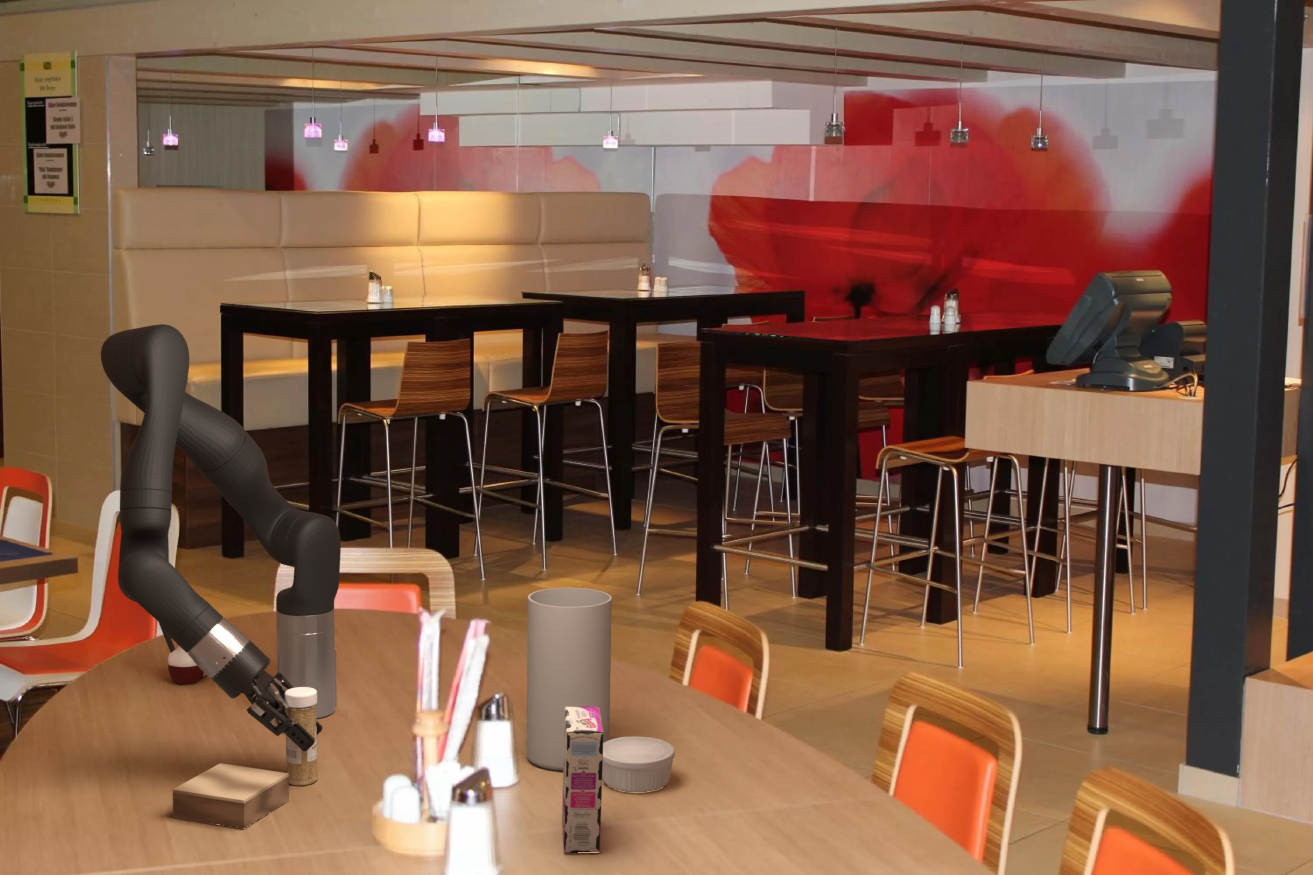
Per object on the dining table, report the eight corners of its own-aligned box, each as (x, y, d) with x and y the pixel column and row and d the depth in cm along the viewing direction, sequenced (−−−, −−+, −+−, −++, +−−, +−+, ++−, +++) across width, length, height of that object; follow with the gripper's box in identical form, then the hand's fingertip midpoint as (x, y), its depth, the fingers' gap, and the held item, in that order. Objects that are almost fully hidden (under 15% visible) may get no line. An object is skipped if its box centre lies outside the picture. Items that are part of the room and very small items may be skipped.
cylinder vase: (577, 778, 226) (580, 611, 223) (509, 761, 233) (511, 599, 229) (624, 754, 237) (627, 595, 233) (558, 739, 243) (560, 583, 240)
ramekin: (618, 802, 218) (618, 765, 217) (584, 776, 227) (585, 741, 227) (688, 790, 223) (689, 754, 222) (652, 765, 233) (653, 731, 232)
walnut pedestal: (220, 790, 219) (220, 763, 218) (289, 800, 215) (288, 773, 215) (173, 817, 208) (172, 789, 208) (244, 829, 205) (243, 800, 204)
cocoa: (217, 682, 271) (220, 615, 269) (194, 690, 265) (196, 622, 263) (173, 673, 274) (176, 607, 273) (149, 681, 268) (152, 613, 267)
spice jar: (322, 782, 222) (322, 692, 221) (292, 788, 220) (291, 696, 218) (311, 773, 226) (310, 683, 224) (280, 778, 224) (279, 688, 222)
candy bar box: (602, 854, 199) (604, 731, 197) (563, 855, 199) (565, 731, 196) (598, 821, 210) (600, 704, 208) (561, 821, 210) (563, 704, 207)
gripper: (235, 653, 213) (323, 738, 215) (258, 626, 227) (341, 706, 229) (196, 690, 213) (285, 775, 215) (222, 661, 228) (305, 741, 230)
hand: (314, 739), depth 222 cm, fingers open, 5 cm apart
